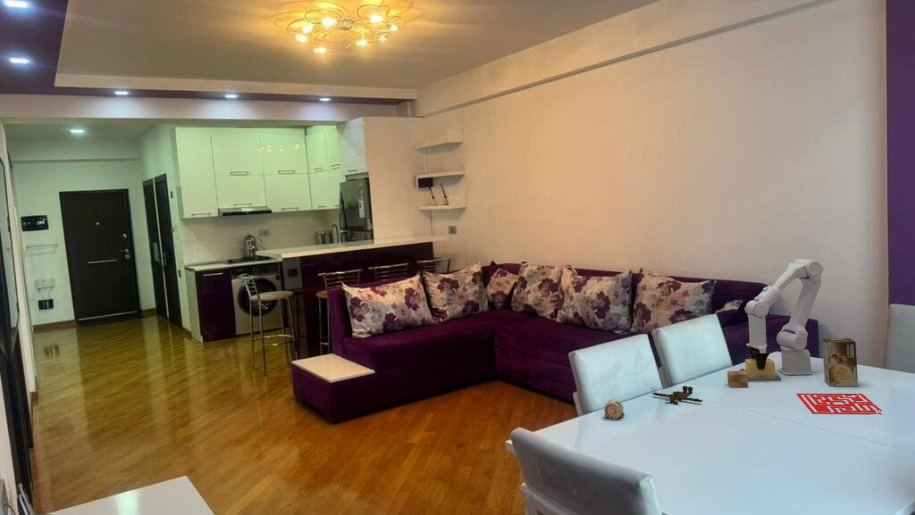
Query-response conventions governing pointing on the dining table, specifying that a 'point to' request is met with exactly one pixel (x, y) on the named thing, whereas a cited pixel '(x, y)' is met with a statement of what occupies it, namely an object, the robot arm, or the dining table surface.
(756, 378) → the base plate
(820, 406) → the maze puzzle
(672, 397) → the brown crossed rod frame
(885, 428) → the dining table surface
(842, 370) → the coffee box
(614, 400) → the cinnamon roll
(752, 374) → the brick
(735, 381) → the walnut block
